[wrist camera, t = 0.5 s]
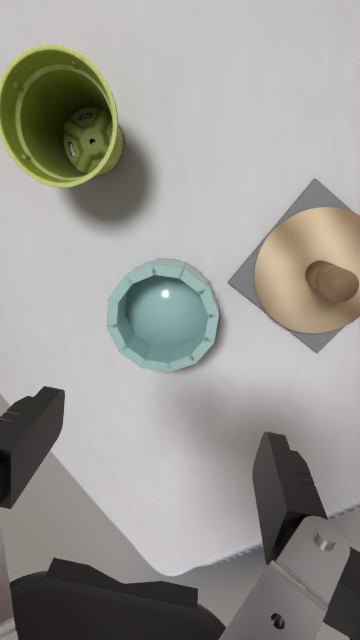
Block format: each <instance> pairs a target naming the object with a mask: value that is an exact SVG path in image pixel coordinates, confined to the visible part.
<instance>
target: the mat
mask: <svg viewBox="0 0 360 640" xmlns="http://www.w3.org/2000/svg"><path fill="white" fill-rule="evenodd" d="M320 207H335V208H341V209H346V210H349V211H351V212H353V211H352V210H351V209H350V208H349V207H347V206H346V205H345V204H344V203H343V202H342V201H341V200H339V199H338V198H337V197H336V196H335V195H334V194H333V193H332V192H330V191H329V190H328V189H327V188H326V187H325V186H324V185H322V184H321V183H320V182H319V181H318V180H317V179H313V181H312V182H311V183H310V184H309V185H308V187H307V188H306V189H305V190H304V191H303V193H302V194H301V195H300V196H299V197H298V199H297V200H296V201H295V202H294V203H293V205H292V206H291V207H290V208H289V209H288V211H287V212H286V213H285V214H284V215H283V217H282V218H281V219H280V220H279V221H278V223H277V224H276V225H275V226H274V227H273V229H272V230H271V231H270V232H269V233H268V235H269V234H270V233H271V232H272V231H273V230H274V228H275V227H277V226H278V225H279V224H280V223H281V222H283V221H284V220H286V219H287V218H289V217H290V216H292V215H294V214H296V213H299V212H301V211H304V210H307V209H312V208H320ZM268 235H267V236H266V237H265V238H264V239H263V241H262V242H261V243H260V244H259V245H258V247H257V248H256V249H255V250H254V251H253V253H252V254H251V255H250V256H249V257H248V259H247V260H246V261H245V262H244V263H243V265H242V266H241V267H240V268H239V269H238V271H237V272H236V273H235V274H234V275H233V277H232V278H231V279H230V280H229V281H228V283H229V284H230V285H232V286H233V287H234V288H235V289H237V290H238V291H239V292H241V293H242V294H243V295H244V296H246V297H247V298H248V299H249V300H251V301H252V302H253V303H254V304H256V305H257V306H258V307H260V308H261V309H262V310H263V311H265V309H264V308H263V306H262V305H261V303H260V301H259V299H258V297H257V294H256V290H255V286H254V266H255V261H256V258H257V255H258V252H259V250H260V248H261V246H262V244H263V242H264V241H265V239H266V238H267V237H268ZM265 312H266V311H265ZM266 313H267V312H266ZM267 314H268V313H267ZM268 315H269V314H268ZM344 327H345V326H344ZM285 328H286V327H285ZM342 328H343V327H341V328H339V329H336V330H333V331H329V332H324V333H313V334H311V333H302V332H297V331H294V330H291V329H288V328H286V329H287V330H289V331H290V332H291V333H293V334H294V335H295V336H296V337H298V338H299V339H300V340H301V341H303V342H304V343H305V344H306V345H308V346H309V347H310V348H312V349H313V350H314V351H315V352H317V353H318V352H319V351H320V350H321V349H322V348H323V347H324V346H325V345H326V344H327V343H328V342H329V341H330V340H331V339H332V338H333V337H334V336H335V335H336V334H337V333H338V332H339V331H340V330H341V329H342Z"/></svg>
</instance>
